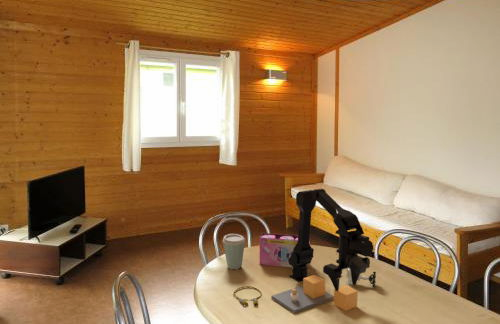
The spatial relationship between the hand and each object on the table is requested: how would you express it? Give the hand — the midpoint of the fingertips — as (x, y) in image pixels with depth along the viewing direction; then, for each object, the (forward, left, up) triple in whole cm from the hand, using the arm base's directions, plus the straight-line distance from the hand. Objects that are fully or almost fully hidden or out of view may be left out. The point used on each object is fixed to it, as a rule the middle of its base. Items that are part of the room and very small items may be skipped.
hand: (345, 287), depth 149 cm
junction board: (-13, -10, -7) cm, 18 cm away
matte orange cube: (0, 0, -7) cm, 7 cm away
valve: (-9, +19, -7) cm, 22 cm away
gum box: (-45, +6, -7) cm, 46 cm away
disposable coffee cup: (-55, -16, -7) cm, 58 cm away
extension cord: (-27, -27, -8) cm, 39 cm away
